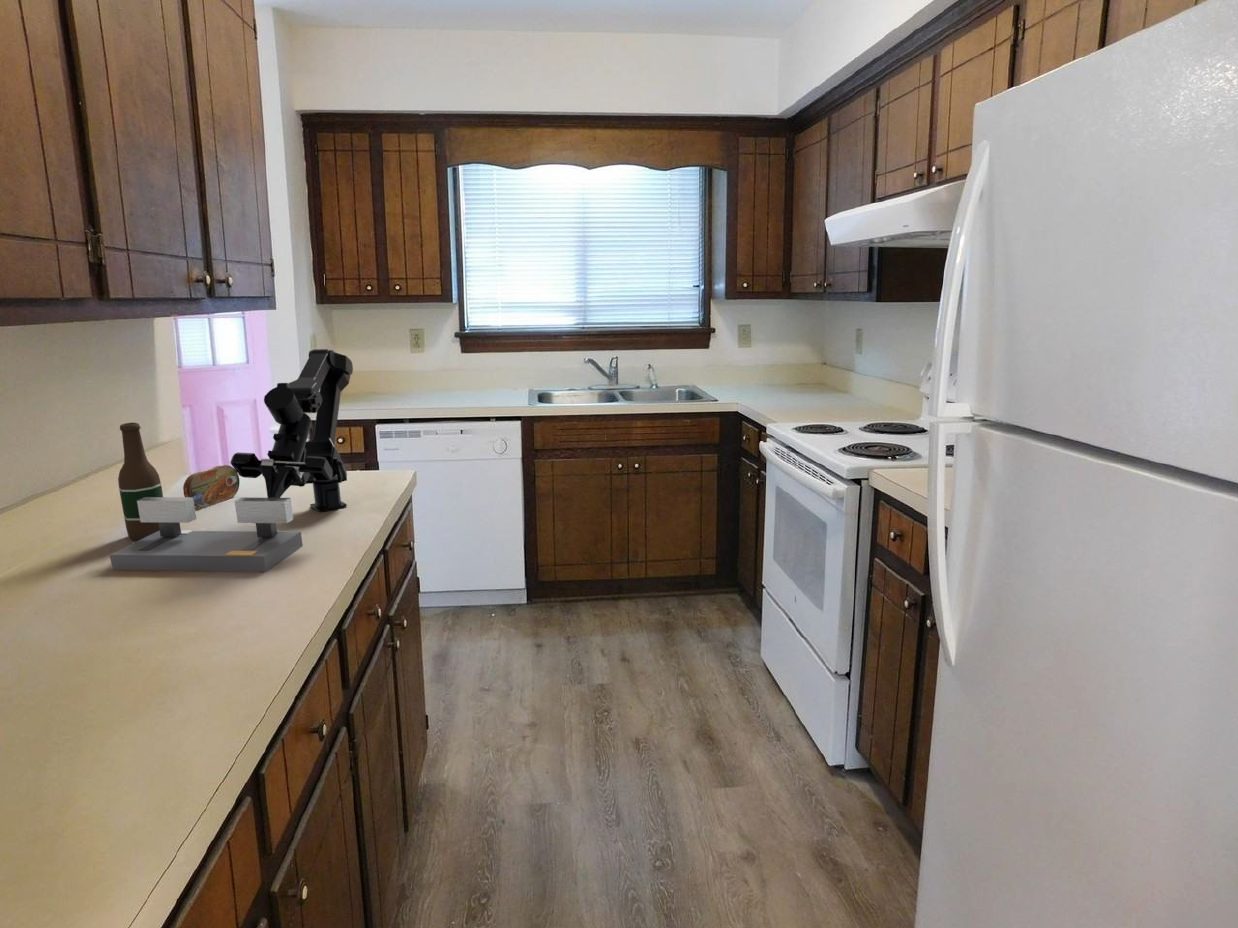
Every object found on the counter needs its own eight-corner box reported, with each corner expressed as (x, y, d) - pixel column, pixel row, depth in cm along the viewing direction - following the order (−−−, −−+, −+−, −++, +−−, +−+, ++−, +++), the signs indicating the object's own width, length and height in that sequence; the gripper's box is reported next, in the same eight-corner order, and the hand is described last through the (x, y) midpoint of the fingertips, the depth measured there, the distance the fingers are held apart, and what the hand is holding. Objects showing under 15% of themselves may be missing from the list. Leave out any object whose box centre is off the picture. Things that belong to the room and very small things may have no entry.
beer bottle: (119, 538, 166) (98, 425, 160) (155, 527, 172) (136, 419, 167) (141, 543, 162) (121, 428, 156) (177, 532, 169) (159, 421, 163)
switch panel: (161, 544, 161) (158, 529, 160) (302, 545, 158) (300, 530, 157) (112, 569, 147) (109, 553, 147) (266, 571, 145) (263, 555, 144)
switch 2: (246, 533, 156) (241, 497, 154) (295, 533, 155) (290, 497, 153) (239, 537, 154) (234, 500, 152) (289, 537, 153) (284, 501, 151)
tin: (194, 511, 184) (188, 476, 182) (183, 511, 185) (178, 476, 183) (242, 494, 198) (238, 461, 196) (232, 493, 199) (227, 461, 197)
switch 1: (151, 532, 158) (145, 497, 156) (198, 533, 157) (193, 497, 155) (143, 536, 156) (136, 500, 154) (191, 537, 155) (185, 500, 153)
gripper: (347, 460, 171) (330, 525, 163) (261, 456, 171) (239, 520, 163) (332, 431, 161) (313, 498, 153) (241, 427, 161) (217, 493, 153)
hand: (271, 503), depth 156 cm, fingers closed
